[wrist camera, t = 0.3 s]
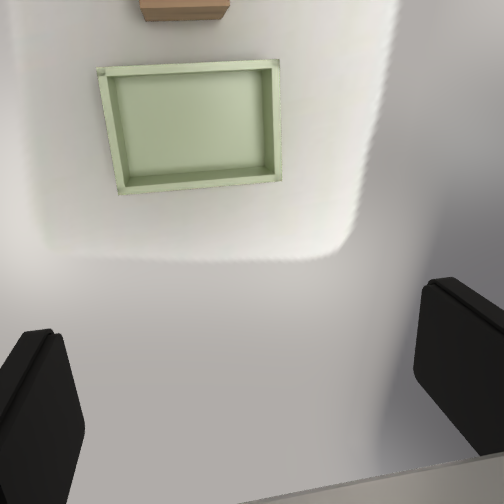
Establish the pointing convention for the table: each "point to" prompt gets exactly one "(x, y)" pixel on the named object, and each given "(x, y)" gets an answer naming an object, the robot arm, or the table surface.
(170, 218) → the table surface
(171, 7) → the walnut block
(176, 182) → the box
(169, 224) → the table surface
